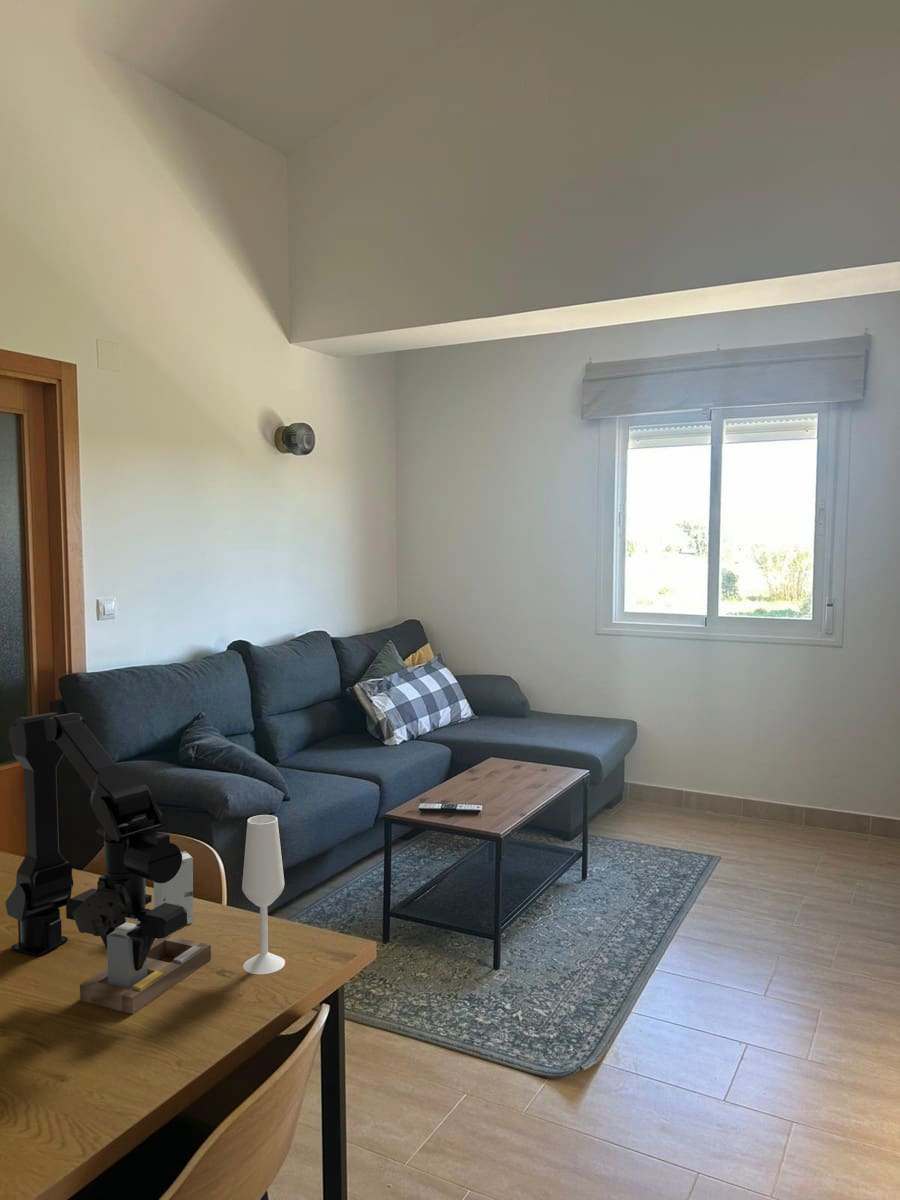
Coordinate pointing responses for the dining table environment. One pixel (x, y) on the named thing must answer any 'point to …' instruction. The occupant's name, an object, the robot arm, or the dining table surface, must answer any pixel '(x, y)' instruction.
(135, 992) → the brown wooden flat frame
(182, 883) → the skincare box
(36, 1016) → the dining table surface
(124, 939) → the plug
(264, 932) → the champagne flute
